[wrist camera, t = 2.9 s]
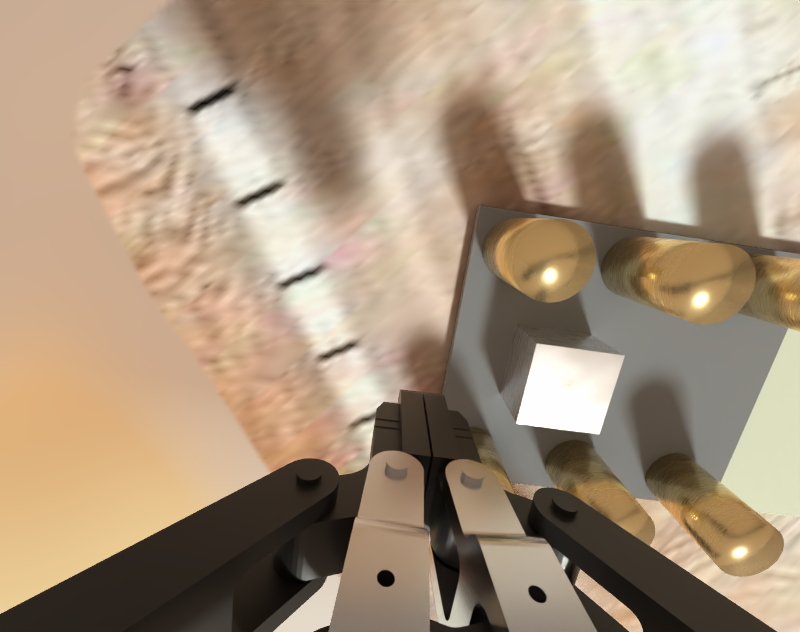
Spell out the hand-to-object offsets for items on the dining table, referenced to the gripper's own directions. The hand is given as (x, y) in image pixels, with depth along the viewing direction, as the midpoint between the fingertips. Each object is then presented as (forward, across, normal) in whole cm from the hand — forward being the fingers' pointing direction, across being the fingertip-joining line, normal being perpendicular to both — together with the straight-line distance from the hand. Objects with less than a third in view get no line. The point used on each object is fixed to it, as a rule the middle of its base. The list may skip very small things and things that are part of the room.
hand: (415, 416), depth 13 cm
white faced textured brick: (+7, -7, 0) cm, 10 cm away
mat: (+8, -14, 0) cm, 16 cm away
